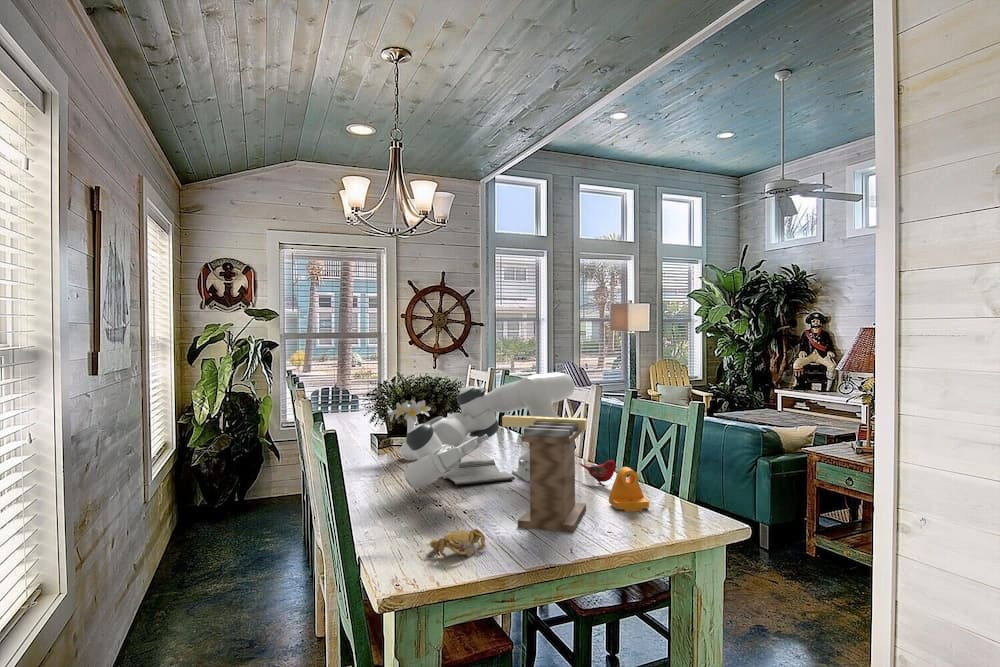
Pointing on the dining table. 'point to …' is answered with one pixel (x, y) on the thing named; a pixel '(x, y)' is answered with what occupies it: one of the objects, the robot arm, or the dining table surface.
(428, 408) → the flower vase
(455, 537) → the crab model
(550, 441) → the stand
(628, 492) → the bracket
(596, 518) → the dining table surface
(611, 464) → the decorative bird figurine
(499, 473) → the mat
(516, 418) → the yellow bar
